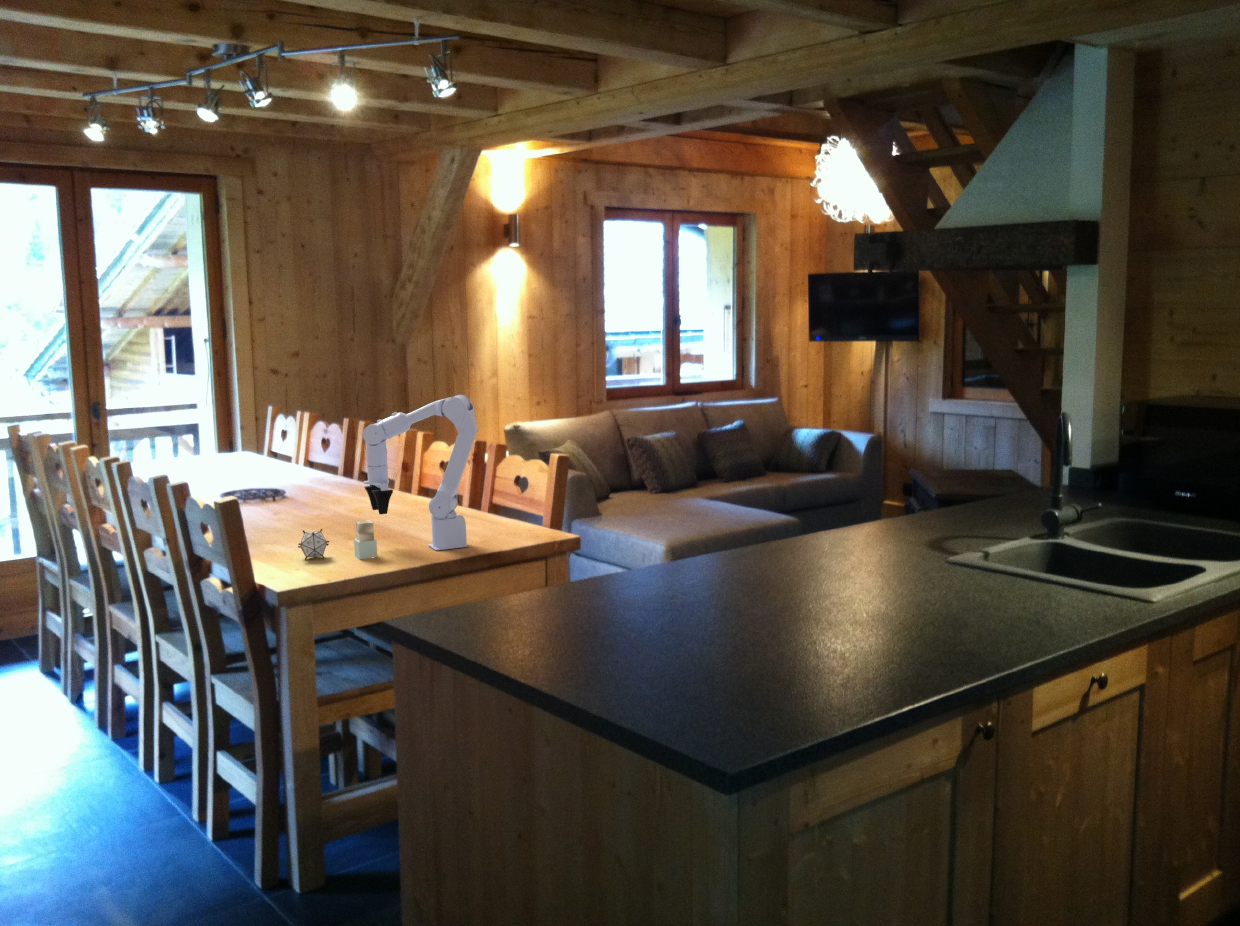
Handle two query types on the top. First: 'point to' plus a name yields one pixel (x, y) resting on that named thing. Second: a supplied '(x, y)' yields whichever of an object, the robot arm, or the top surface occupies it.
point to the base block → (365, 549)
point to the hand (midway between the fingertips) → (379, 511)
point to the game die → (313, 544)
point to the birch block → (364, 530)
